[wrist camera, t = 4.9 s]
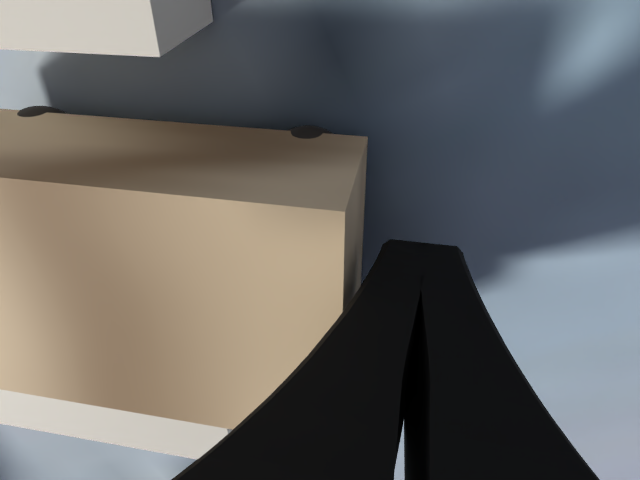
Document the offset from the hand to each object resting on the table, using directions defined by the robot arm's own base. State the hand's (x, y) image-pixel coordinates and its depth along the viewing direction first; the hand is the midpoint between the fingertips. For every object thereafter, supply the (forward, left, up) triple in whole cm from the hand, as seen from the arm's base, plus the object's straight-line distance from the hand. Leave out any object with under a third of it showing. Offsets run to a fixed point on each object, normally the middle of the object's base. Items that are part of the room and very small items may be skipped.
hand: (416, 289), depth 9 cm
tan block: (+4, +2, -1) cm, 5 cm away
